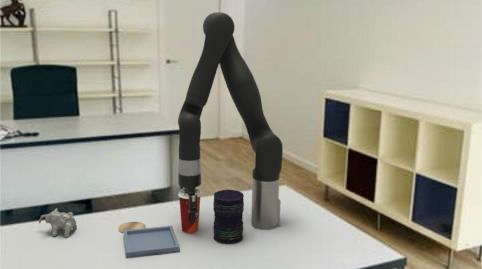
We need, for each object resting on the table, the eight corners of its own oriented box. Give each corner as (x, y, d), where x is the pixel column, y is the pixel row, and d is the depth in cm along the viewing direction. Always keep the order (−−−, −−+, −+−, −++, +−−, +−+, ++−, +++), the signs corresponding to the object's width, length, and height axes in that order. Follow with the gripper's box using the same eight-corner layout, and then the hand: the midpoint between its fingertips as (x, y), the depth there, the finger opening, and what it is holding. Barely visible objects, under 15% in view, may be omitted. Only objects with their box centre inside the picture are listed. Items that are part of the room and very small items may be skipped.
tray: (172, 230, 162) (172, 225, 162) (179, 251, 147) (179, 246, 147) (123, 235, 158) (123, 230, 157) (126, 258, 143) (126, 252, 142)
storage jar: (249, 239, 156) (250, 196, 153) (224, 247, 151) (225, 202, 147) (231, 228, 164) (231, 187, 161) (207, 236, 158) (207, 193, 155)
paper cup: (197, 235, 158) (197, 195, 155) (175, 233, 160) (175, 193, 156) (204, 226, 166) (204, 187, 162) (183, 224, 167) (182, 186, 164)
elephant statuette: (75, 238, 156) (75, 216, 154) (35, 240, 152) (35, 217, 151) (77, 227, 164) (77, 206, 163) (39, 228, 161) (39, 207, 160)
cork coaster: (144, 221, 168) (144, 220, 168) (146, 232, 160) (146, 231, 160) (117, 224, 166) (117, 223, 166) (118, 235, 158) (118, 233, 157)
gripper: (205, 177, 152) (205, 225, 156) (196, 164, 166) (196, 209, 169) (181, 178, 150) (182, 228, 154) (175, 165, 163) (175, 211, 167)
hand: (190, 218), depth 162 cm, fingers closed on paper cup, 6 cm apart
